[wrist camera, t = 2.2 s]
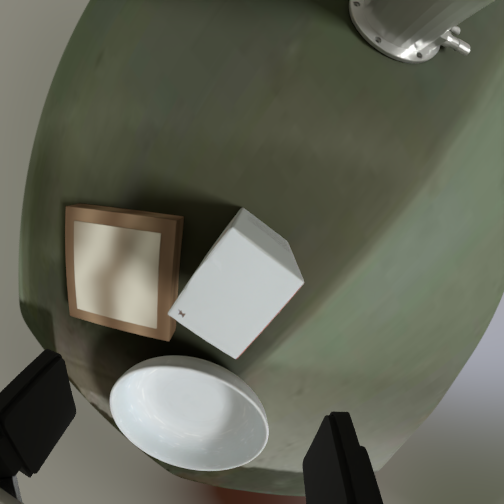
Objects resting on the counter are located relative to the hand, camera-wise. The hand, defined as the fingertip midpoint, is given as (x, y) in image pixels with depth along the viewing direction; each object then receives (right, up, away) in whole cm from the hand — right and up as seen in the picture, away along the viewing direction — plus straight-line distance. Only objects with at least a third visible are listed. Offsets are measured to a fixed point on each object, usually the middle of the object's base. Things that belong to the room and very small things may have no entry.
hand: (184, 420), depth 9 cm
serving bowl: (-6, -15, +30) cm, 34 cm away
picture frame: (-13, +4, +25) cm, 28 cm away
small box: (+1, +6, +24) cm, 25 cm away
